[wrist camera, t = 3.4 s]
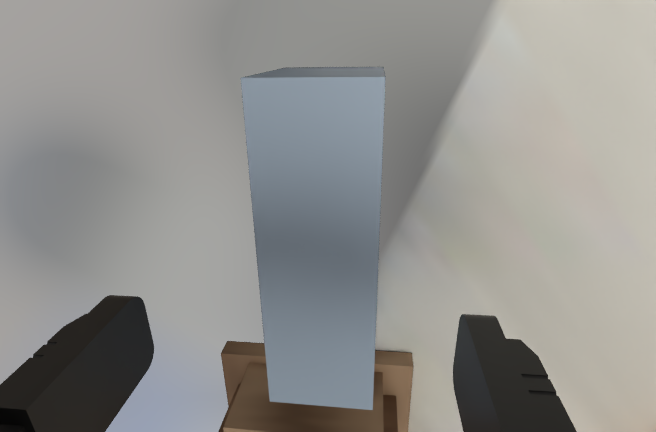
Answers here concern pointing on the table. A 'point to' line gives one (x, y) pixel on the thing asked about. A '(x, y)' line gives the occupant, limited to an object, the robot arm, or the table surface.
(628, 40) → the table surface
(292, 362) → the tall pale blue pillar
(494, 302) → the table surface
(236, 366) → the cradle
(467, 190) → the table surface
